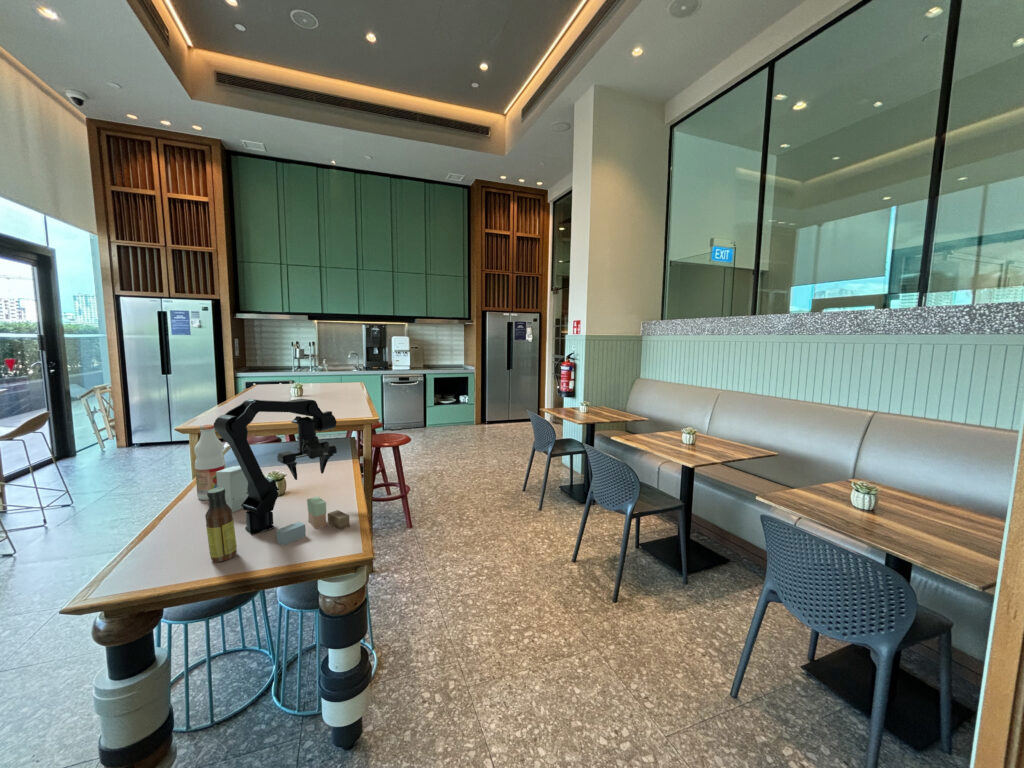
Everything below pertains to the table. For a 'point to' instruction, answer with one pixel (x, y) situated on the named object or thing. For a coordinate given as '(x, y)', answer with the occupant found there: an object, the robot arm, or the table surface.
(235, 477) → the skincare box
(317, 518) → the tan brick
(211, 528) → the sauce bottle
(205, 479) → the fruit juice
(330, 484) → the table surface
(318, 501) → the sage brick
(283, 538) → the slate brick
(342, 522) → the walnut brick
